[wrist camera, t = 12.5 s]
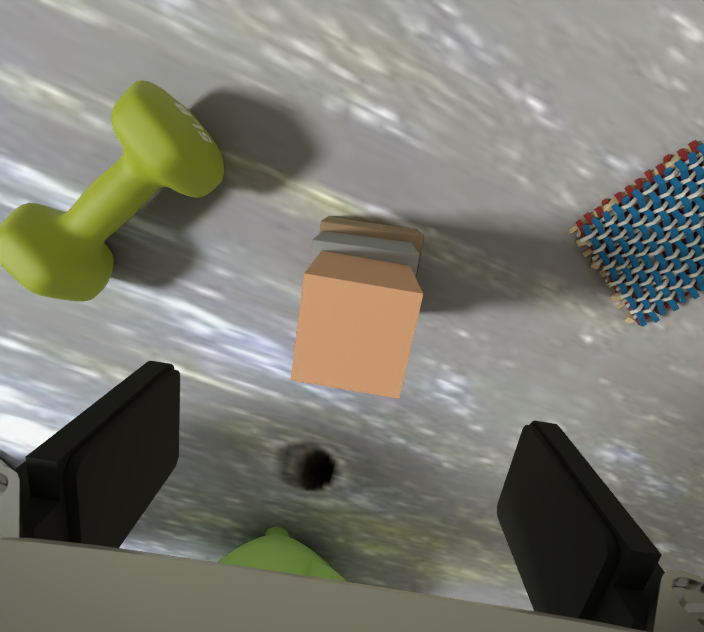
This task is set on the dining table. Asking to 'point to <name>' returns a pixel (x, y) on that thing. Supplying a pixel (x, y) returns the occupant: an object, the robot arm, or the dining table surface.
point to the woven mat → (652, 237)
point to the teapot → (281, 556)
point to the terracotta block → (356, 324)
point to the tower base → (373, 231)
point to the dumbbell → (111, 197)
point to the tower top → (366, 248)
